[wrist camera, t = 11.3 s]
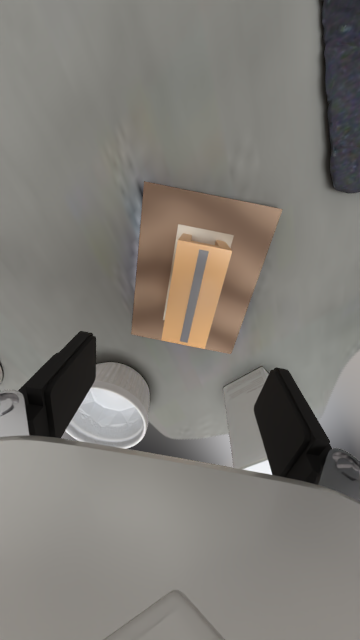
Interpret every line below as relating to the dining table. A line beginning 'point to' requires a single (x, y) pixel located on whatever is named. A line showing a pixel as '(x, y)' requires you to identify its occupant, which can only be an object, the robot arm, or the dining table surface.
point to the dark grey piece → (343, 90)
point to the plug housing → (194, 290)
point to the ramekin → (113, 408)
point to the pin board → (205, 227)
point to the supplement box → (246, 422)
